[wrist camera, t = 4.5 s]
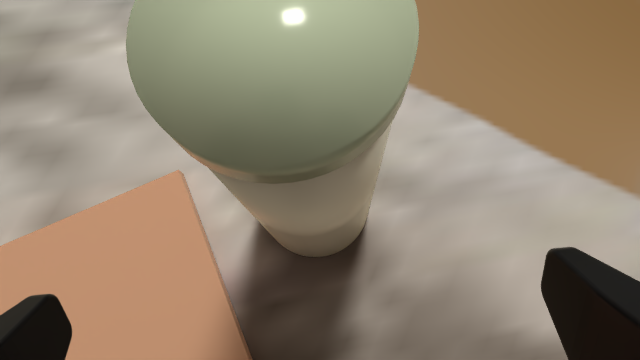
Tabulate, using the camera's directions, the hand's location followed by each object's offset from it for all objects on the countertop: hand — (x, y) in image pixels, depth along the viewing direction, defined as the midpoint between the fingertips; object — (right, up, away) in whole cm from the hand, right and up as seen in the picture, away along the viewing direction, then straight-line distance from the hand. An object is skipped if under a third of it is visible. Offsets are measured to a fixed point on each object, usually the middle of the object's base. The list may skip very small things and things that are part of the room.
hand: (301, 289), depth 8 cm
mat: (-9, -5, +10) cm, 14 cm away
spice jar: (0, +1, +12) cm, 12 cm away
